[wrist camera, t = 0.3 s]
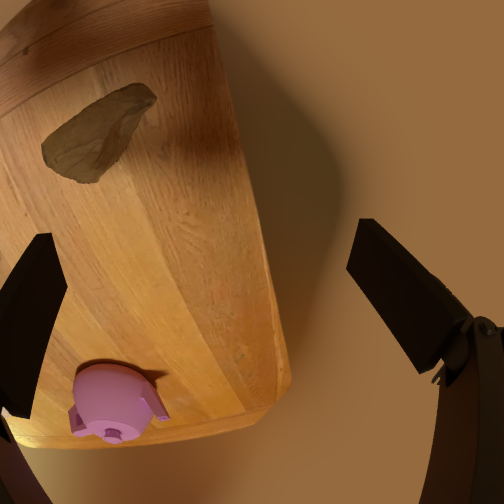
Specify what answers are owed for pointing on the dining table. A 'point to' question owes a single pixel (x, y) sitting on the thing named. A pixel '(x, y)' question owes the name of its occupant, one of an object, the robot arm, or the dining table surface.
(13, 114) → the dining table surface
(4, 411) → the plate
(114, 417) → the teapot
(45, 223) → the dining table surface
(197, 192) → the dining table surface
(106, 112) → the rock
